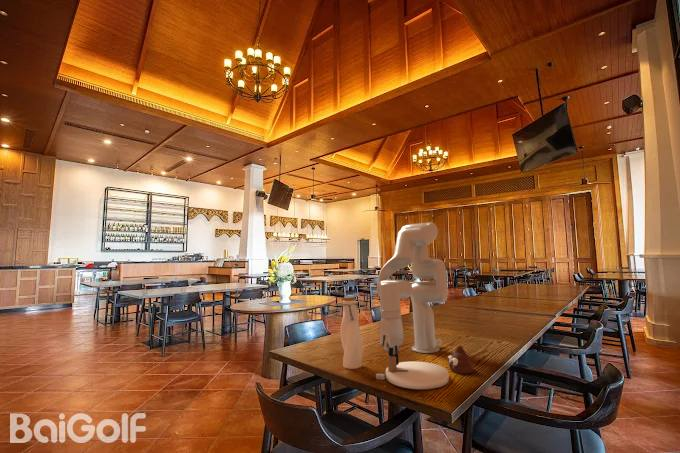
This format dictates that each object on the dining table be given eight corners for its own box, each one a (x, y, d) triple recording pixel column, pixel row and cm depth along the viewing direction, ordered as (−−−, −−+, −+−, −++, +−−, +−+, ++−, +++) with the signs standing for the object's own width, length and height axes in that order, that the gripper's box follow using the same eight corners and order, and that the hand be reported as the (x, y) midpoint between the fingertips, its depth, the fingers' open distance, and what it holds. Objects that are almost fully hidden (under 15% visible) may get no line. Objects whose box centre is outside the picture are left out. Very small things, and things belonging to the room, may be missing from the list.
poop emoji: (478, 374, 117) (476, 347, 118) (457, 376, 115) (455, 349, 116) (464, 365, 126) (462, 341, 128) (444, 367, 125) (442, 342, 126)
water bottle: (368, 368, 127) (364, 297, 130) (347, 371, 124) (343, 299, 127) (359, 361, 137) (355, 295, 140) (339, 364, 134) (336, 296, 137)
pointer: (384, 378, 116) (384, 373, 116) (384, 379, 115) (384, 375, 115) (376, 378, 116) (376, 373, 117) (376, 379, 115) (376, 375, 115)
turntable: (442, 366, 123) (440, 348, 124) (455, 389, 102) (454, 366, 102) (385, 366, 126) (384, 348, 127) (386, 389, 104) (385, 366, 105)
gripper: (393, 310, 129) (396, 357, 127) (371, 317, 118) (374, 368, 116) (409, 312, 124) (412, 360, 122) (388, 318, 113) (391, 372, 111)
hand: (394, 364), depth 119 cm, fingers closed
